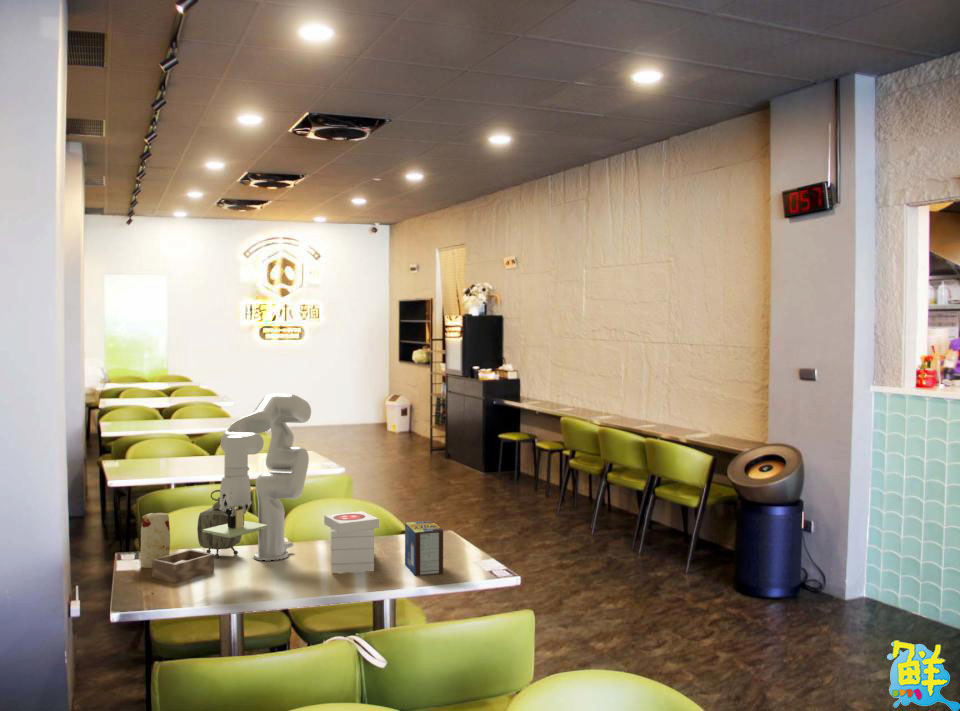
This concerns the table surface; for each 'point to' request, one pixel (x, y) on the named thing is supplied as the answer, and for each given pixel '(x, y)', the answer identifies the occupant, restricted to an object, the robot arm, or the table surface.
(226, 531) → the lid
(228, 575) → the table surface
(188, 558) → the box
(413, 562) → the protein box
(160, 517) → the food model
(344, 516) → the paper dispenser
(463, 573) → the table surface
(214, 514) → the tabletop clock
